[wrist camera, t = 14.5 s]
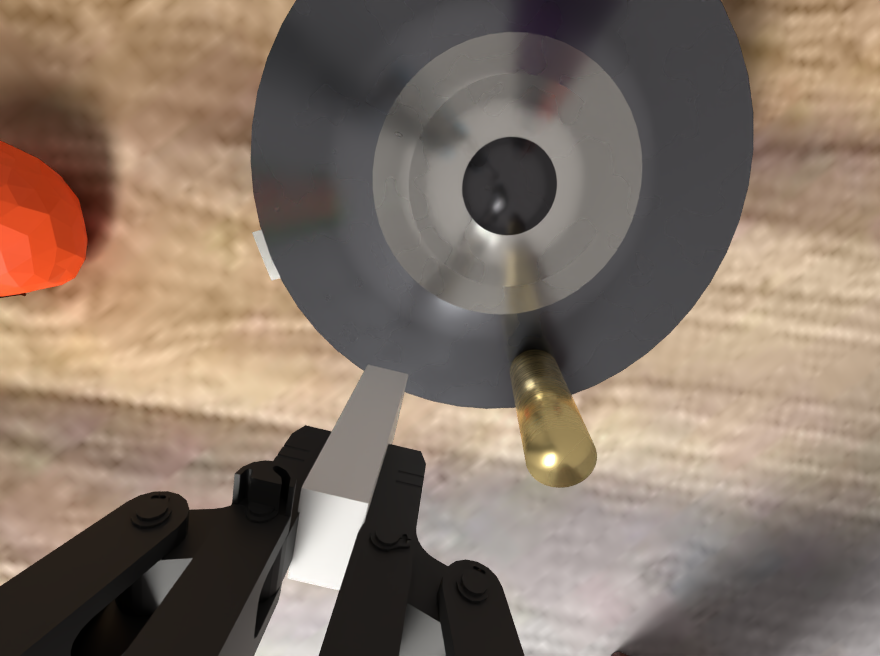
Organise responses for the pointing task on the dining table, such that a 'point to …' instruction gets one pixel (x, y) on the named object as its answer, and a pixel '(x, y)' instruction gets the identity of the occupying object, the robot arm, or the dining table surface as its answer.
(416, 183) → the cover
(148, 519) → the robot arm
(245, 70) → the dining table surface
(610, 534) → the dining table surface
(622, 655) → the vintage gas pump
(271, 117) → the turntable
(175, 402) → the dining table surface
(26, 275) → the pumpkin
